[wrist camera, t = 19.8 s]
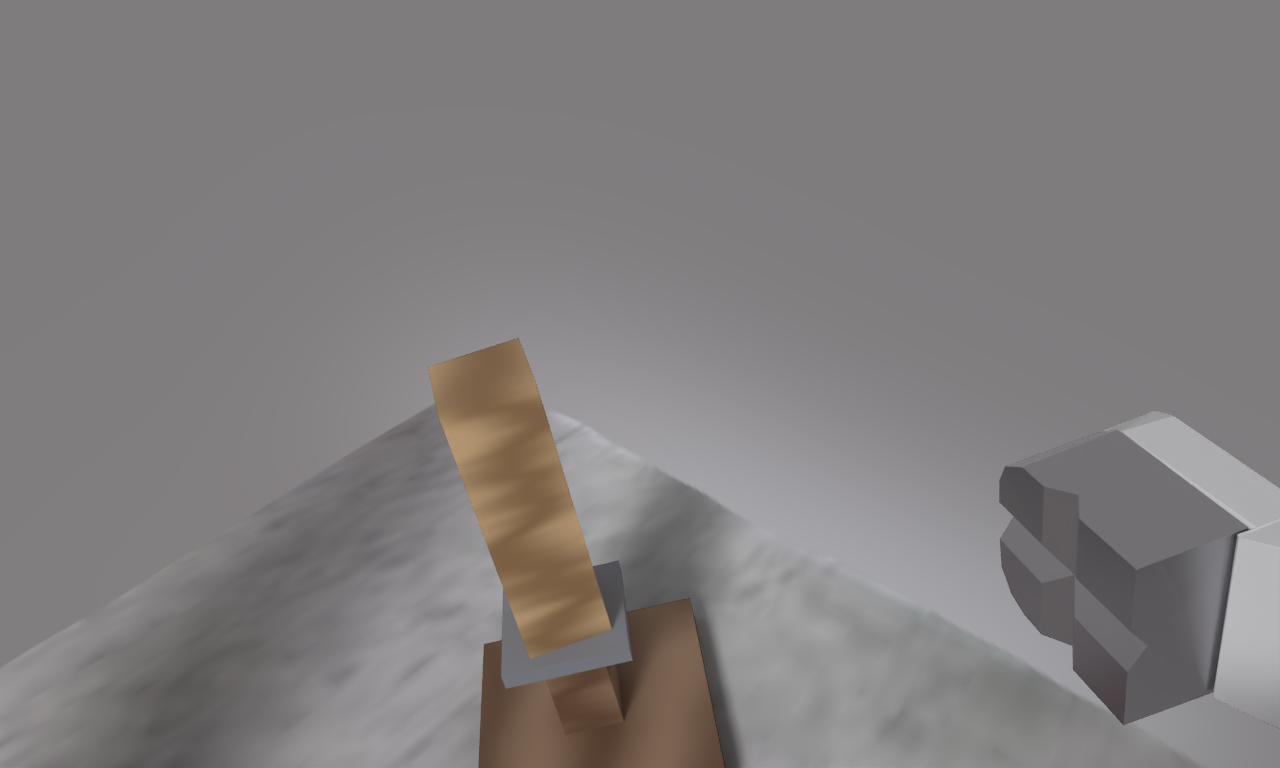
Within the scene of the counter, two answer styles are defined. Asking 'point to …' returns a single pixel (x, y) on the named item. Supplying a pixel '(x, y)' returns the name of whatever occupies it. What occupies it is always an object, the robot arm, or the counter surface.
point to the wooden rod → (519, 494)
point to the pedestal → (602, 693)
